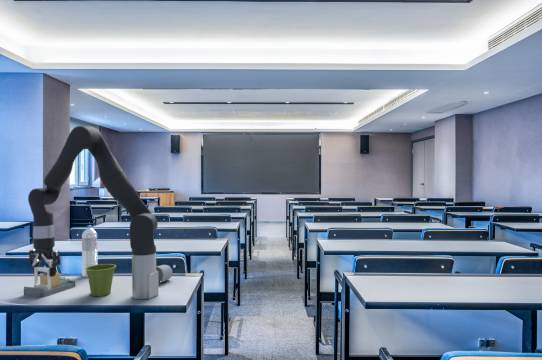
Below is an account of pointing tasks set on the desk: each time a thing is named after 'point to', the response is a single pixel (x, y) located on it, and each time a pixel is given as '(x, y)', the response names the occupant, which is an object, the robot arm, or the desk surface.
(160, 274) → the ceramic mug
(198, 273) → the desk surface
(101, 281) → the plant pot
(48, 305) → the desk surface
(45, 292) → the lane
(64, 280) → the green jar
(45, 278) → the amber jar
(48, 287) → the grey arch gate
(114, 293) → the desk surface
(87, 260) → the water bottle
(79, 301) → the desk surface
